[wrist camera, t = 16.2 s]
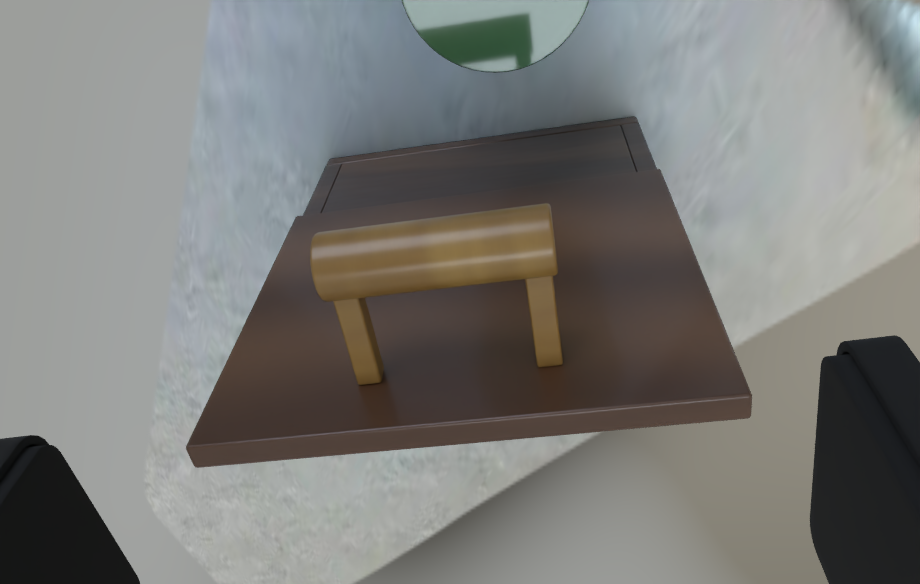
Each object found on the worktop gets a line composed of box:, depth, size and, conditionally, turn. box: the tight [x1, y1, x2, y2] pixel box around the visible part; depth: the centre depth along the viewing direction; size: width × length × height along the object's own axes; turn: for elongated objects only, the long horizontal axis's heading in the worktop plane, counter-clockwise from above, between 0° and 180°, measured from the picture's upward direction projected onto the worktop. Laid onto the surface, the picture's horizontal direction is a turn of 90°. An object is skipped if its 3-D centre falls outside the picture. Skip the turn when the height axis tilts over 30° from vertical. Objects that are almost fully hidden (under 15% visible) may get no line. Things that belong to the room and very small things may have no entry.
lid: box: [186, 169, 752, 468], centre depth 25 cm, size 13×15×5 cm
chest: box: [303, 117, 657, 215], centre depth 38 cm, size 13×15×6 cm
